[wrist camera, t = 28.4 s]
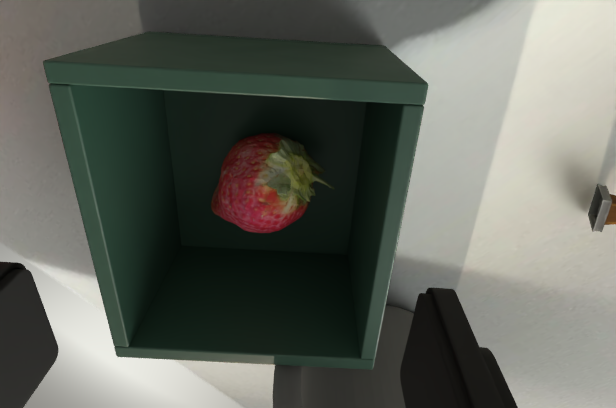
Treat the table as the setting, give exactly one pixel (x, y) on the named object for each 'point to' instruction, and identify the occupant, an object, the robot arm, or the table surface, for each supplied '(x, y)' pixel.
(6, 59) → the table surface
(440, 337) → the robot arm
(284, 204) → the fruit
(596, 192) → the wooden post with brackets
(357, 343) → the bin
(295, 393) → the mug
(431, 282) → the table surface
